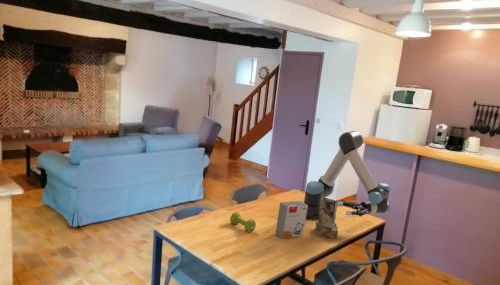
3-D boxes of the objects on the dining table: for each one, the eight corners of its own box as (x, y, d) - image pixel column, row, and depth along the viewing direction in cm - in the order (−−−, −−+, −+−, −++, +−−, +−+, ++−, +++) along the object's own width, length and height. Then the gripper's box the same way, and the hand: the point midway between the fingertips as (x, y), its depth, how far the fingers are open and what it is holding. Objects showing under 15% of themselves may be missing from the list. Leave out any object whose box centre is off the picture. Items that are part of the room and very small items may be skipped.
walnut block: (316, 237, 215) (318, 227, 214) (315, 228, 227) (316, 220, 226) (336, 240, 214) (338, 231, 213) (334, 231, 226) (335, 223, 225)
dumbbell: (256, 231, 214) (257, 219, 212) (247, 234, 208) (248, 222, 206) (237, 221, 224) (238, 210, 223) (228, 224, 219) (229, 213, 217)
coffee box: (334, 225, 220) (338, 201, 217) (332, 228, 215) (335, 203, 212) (320, 221, 224) (324, 197, 222) (317, 224, 219) (321, 200, 216)
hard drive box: (281, 239, 207) (286, 206, 203) (275, 233, 213) (279, 202, 209) (303, 236, 214) (308, 204, 210) (296, 230, 221) (300, 200, 217)
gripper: (380, 221, 217) (351, 222, 210) (355, 205, 240) (328, 206, 233) (382, 209, 216) (353, 210, 208) (356, 195, 239) (330, 195, 231)
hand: (340, 208), depth 220 cm, fingers open, 13 cm apart
